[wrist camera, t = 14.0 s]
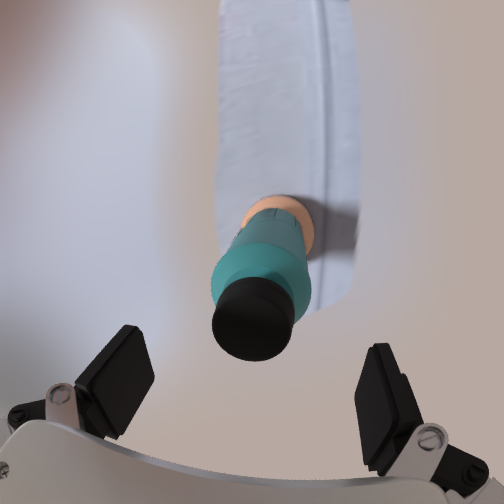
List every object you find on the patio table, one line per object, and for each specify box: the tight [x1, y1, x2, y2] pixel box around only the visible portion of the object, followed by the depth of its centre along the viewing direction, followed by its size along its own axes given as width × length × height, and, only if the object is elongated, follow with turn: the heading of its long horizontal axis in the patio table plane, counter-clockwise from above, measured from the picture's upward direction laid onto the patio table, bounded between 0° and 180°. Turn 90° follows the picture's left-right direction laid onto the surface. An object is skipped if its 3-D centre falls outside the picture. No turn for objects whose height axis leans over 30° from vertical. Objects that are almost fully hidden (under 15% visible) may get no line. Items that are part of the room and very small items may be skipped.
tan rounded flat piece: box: [241, 195, 314, 256], centre depth 33 cm, size 8×8×3 cm
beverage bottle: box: [211, 207, 311, 362], centre depth 22 cm, size 6×7×20 cm
